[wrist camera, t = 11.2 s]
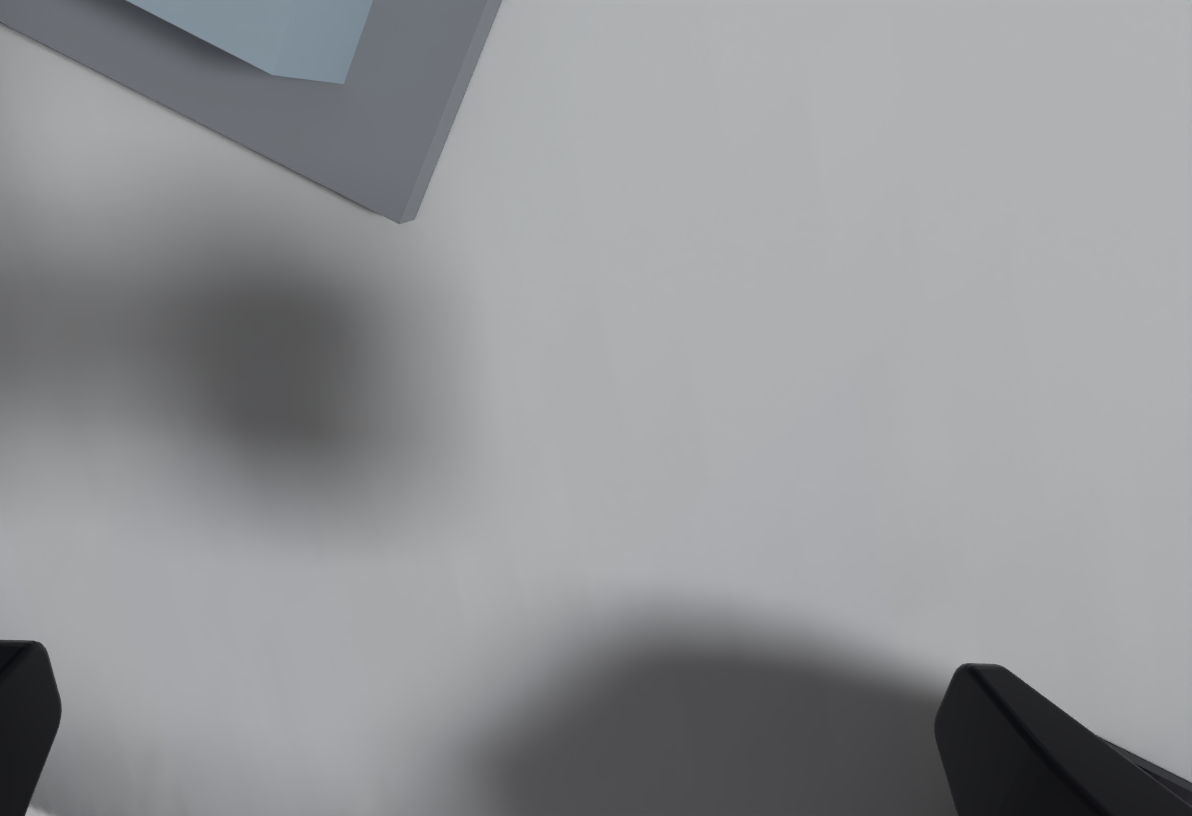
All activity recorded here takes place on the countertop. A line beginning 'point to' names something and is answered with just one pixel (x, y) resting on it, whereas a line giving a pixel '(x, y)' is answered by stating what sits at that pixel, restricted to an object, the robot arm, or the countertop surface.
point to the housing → (291, 76)
